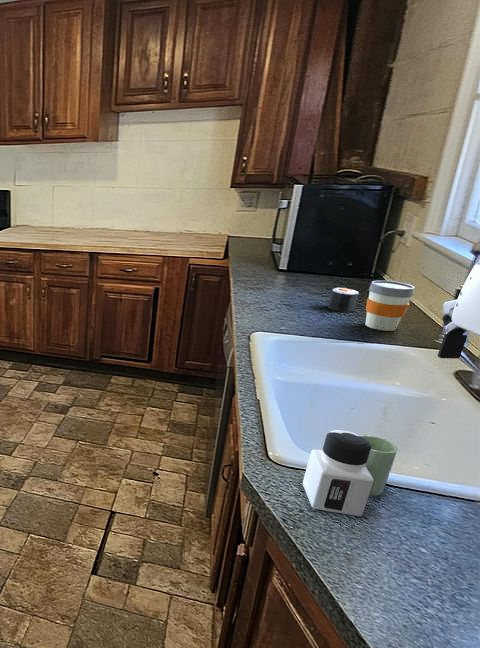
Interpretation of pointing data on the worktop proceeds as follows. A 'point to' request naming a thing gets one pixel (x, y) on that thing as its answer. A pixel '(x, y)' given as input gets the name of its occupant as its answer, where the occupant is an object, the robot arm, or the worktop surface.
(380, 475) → the cup
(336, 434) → the container
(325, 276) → the worktop surface
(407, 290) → the reusable coffee cup
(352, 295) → the sushi
